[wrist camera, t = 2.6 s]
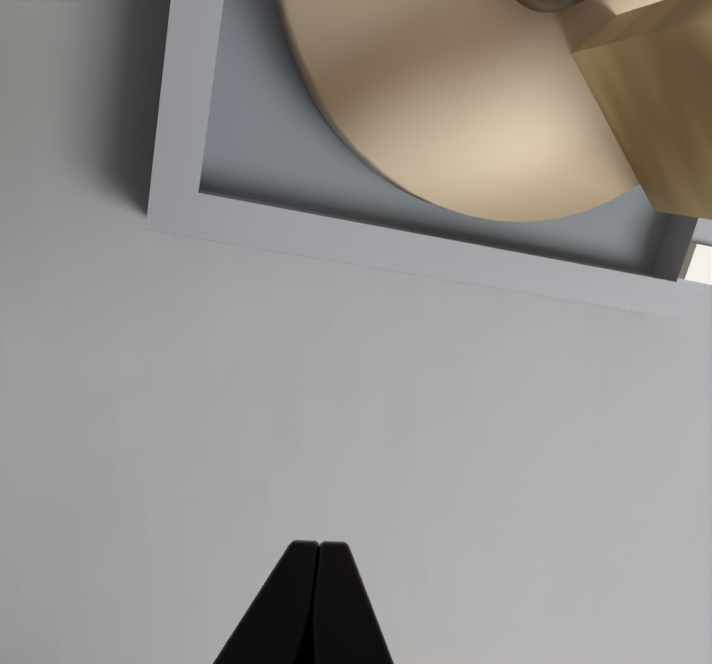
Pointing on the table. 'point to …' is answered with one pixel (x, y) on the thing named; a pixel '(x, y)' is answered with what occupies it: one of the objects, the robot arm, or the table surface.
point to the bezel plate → (373, 186)
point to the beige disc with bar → (517, 99)
